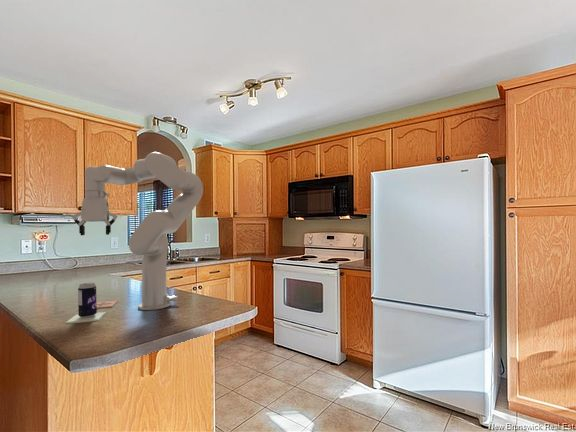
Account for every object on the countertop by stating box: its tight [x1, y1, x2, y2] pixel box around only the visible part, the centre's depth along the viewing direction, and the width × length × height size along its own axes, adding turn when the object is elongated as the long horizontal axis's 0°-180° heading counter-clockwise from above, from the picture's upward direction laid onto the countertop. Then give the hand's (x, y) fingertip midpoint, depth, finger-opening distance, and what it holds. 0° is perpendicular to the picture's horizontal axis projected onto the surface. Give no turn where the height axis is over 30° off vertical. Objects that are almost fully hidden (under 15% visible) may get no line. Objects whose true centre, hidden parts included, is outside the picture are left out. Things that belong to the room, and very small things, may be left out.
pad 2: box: [96, 300, 119, 310], centre depth 138 cm, size 10×10×1 cm
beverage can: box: [77, 282, 98, 318], centre depth 119 cm, size 6×6×12 cm
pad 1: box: [65, 311, 107, 324], centre depth 119 cm, size 10×10×1 cm
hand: (95, 234), depth 140 cm, fingers open, 9 cm apart
